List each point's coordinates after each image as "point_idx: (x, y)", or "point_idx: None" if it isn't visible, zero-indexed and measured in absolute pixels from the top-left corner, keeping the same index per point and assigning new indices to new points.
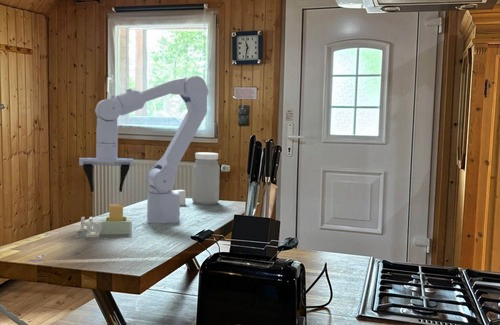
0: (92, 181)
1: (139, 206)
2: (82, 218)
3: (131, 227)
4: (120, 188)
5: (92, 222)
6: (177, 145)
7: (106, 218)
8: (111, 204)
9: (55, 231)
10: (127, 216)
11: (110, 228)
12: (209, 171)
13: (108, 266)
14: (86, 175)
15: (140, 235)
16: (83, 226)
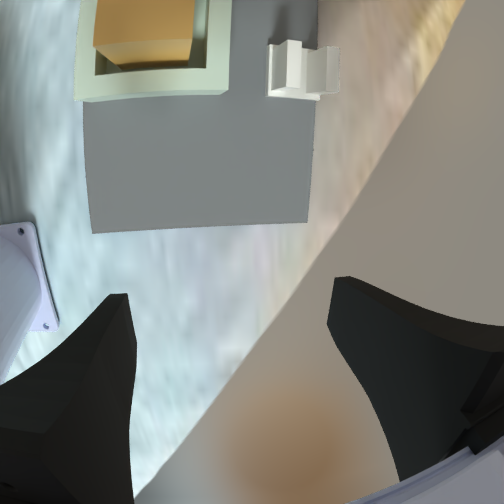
0: (386, 308)
1: (135, 465)
2: (333, 54)
3: (84, 110)
4: (112, 303)
5: (277, 84)
6: None
7: (207, 35)
8: (180, 26)
9: (396, 112)
10: (87, 90)
11: None
12: None
13: None
14: (464, 322)
15: (57, 14)
16: (312, 52)
